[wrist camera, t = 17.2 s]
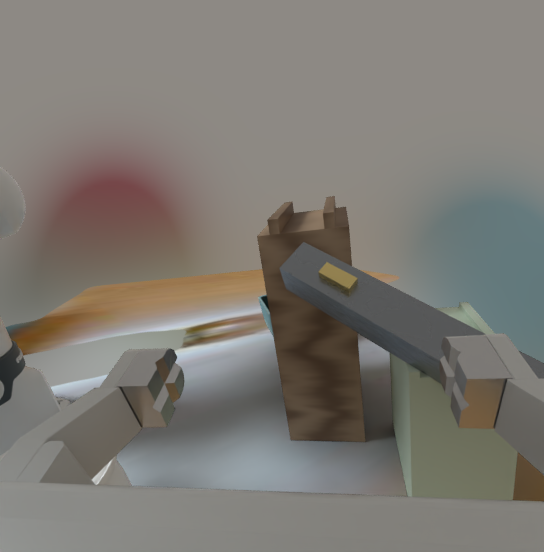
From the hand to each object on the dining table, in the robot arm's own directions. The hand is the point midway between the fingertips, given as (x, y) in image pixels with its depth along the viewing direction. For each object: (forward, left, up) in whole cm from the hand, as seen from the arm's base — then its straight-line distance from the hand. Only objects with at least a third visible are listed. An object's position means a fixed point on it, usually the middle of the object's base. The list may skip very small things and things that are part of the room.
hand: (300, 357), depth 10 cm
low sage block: (0, +23, -27) cm, 35 cm away
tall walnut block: (-15, +26, -27) cm, 40 cm away
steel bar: (-3, +18, -9) cm, 21 cm away
